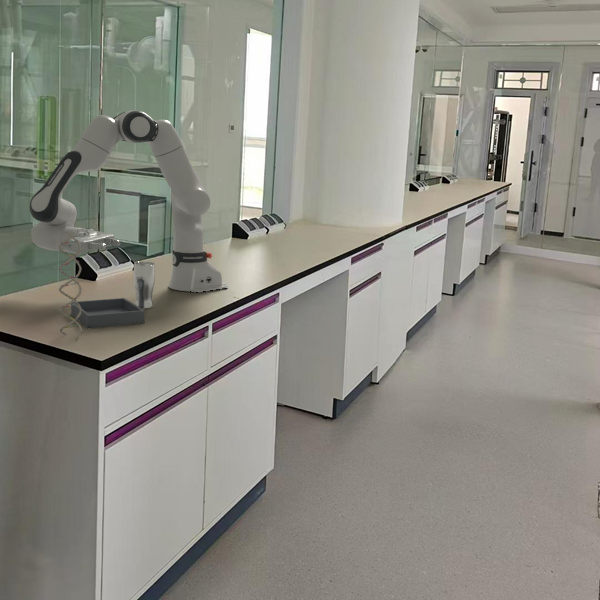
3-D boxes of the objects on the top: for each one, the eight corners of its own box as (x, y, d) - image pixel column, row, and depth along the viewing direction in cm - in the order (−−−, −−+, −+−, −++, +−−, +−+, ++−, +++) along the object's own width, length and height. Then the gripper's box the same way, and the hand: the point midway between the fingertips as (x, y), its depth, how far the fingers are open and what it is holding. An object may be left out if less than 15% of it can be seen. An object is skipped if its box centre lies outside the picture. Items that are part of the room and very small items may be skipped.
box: (124, 309, 241) (124, 297, 240) (144, 323, 227) (144, 310, 226) (70, 314, 231) (70, 301, 230) (88, 328, 217) (88, 315, 216)
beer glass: (132, 304, 248) (132, 261, 244) (152, 304, 250) (153, 261, 247) (134, 309, 241) (135, 265, 238) (156, 309, 244) (156, 265, 240)
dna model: (54, 336, 207) (53, 232, 200) (75, 333, 212) (74, 231, 205) (65, 342, 203) (64, 236, 196) (86, 339, 207) (86, 234, 200)
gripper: (57, 234, 238) (94, 239, 234) (92, 227, 257) (127, 232, 253) (57, 253, 239) (94, 258, 235) (92, 245, 258) (127, 250, 254)
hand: (111, 245), depth 244 cm, fingers open, 8 cm apart
